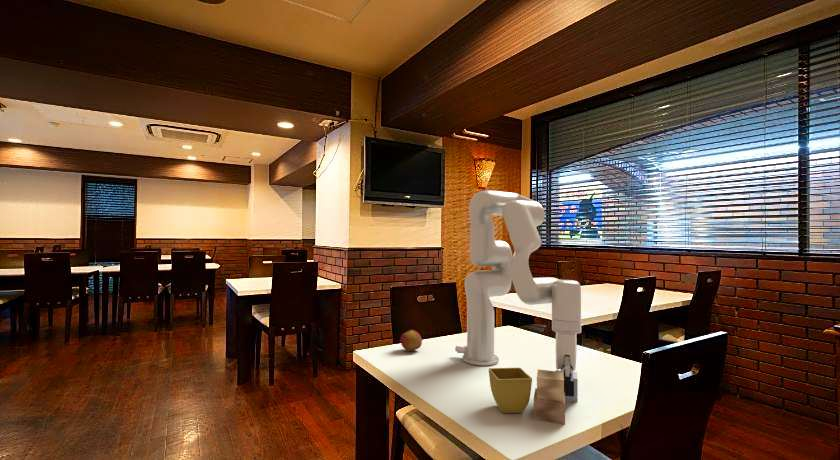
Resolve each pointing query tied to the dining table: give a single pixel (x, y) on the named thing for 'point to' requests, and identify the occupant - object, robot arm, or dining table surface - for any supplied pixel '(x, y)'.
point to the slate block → (575, 397)
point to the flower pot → (510, 388)
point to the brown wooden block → (549, 410)
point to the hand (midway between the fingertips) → (567, 389)
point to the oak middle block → (550, 385)
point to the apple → (411, 340)
